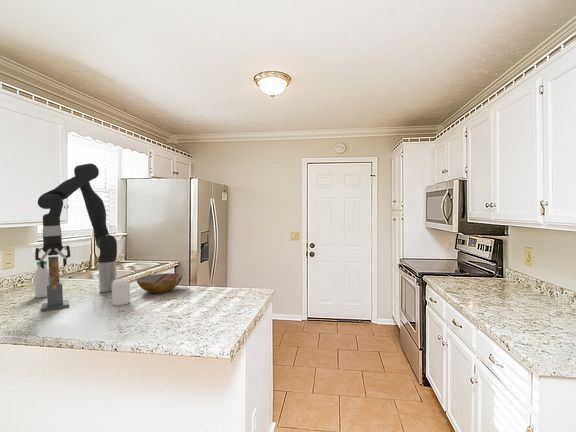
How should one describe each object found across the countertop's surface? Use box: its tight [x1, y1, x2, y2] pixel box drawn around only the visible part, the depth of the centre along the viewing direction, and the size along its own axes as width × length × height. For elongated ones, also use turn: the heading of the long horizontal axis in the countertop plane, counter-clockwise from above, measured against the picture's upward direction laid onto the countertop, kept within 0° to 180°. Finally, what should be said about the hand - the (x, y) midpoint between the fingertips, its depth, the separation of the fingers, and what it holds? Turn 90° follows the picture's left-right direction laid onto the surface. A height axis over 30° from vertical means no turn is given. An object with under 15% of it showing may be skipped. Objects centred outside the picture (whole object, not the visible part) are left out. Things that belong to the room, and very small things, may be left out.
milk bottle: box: [33, 260, 49, 299], centre depth 187 cm, size 8×8×20 cm
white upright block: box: [111, 278, 131, 307], centre depth 167 cm, size 8×8×12 cm
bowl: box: [135, 272, 183, 295], centre depth 191 cm, size 25×25×8 cm
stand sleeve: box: [40, 281, 70, 312], centre depth 165 cm, size 11×11×12 cm
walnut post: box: [47, 255, 60, 285], centre depth 165 cm, size 4×4×17 cm
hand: (53, 267), depth 165 cm, fingers open, 8 cm apart
